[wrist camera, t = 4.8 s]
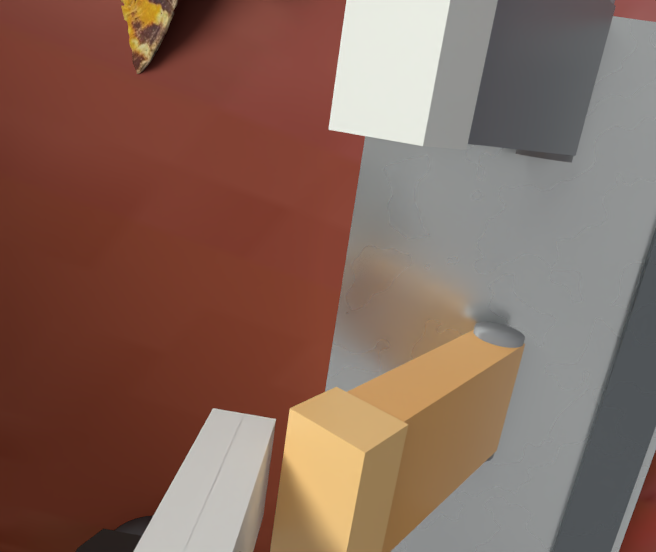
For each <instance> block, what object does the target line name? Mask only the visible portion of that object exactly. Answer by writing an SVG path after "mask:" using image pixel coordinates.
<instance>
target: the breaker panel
mask: <svg viewBox="0 0 656 552" xmlns="http://www.w3.org/2000/svg"><path fill="white" fill-rule="evenodd" d="M515 153H516V149H509V148H500V147H491V146H482V145H473V144H467V149H466V150H461V149H449V148H438V147H427V146H419V145H414V144H408V143H402V142H397V141H391V140H385V139H380V138H374V137H368V136H365V142H364V149H363V155H362V161H361V168H360V174H359V180H358V187H357V193H356V199H355V206H354V212H353V218H352V225H351V231H350V237H349V244H348V250H347V256H346V263H345V269H344V275H343V282H342V288H341V294H340V301H339V307H338V313H337V320H336V326H335V332H334V339H333V345H332V351H331V357H330V364H329V370H328V376H327V383H326V389H325V392H326V391H328V390H330V389H333V388H335V387H338V388H340V389H342V390H344V391H346V392H347V391H349V390H352V389H354V388H356V387H358V386H360V385H362V384H364V383H366V382H368V381H370V380H372V379H374V378H376V377H378V376H380V375H382V374H384V373H386V372H388V371H390V370H392V369H394V368H397V367H399V366H401V365H403V364H405V363H407V362H409V361H411V360H413V359H415V358H417V357H419V356H421V355H423V354H425V353H427V352H429V351H431V350H433V349H435V348H437V347H440V346H442V345H444V344H446V343H448V342H450V341H452V340H454V339H456V338H458V337H460V336H462V335H464V334H466V333H468V332H470V331H472V330H474V327H475V324H477V323H480V322H492V323H498V324H502V325H506V326H509V327H512V328H514V329H516V330H518V331H520V332H521V333H522V334H523V335H524V336H525V340H524V344H525V347H524V351H523V354H522V358H521V362H520V366H519V369H518V373H517V377H516V381H515V384H514V388H513V392H512V396H511V399H510V403H509V407H508V411H507V414H506V418H505V422H504V426H503V429H502V433H501V437H500V441H499V444H498V448H497V451H496V452H495V453H494V457H493V458H492V459H491V460H489V461H487V462H484V463H483V464H482V465H481V466H480V467H479V468H478V469H477V470H476V471H475V472H474V473H473V474H472V475H470V476H469V477H468V478H467V479H466V480H465V481H464V482H463V483H462V484H461V485H460V486H459V487H458V488H457V489H456V490H455V491H454V492H453V493H451V494H450V495H449V496H448V497H447V498H446V499H445V500H444V501H443V502H442V503H441V504H440V505H439V506H438V507H437V508H436V509H435V510H434V511H433V512H431V513H430V514H429V515H428V516H427V517H426V518H425V519H424V520H423V521H422V522H421V523H420V524H419V525H418V526H417V527H416V528H415V529H414V530H413V531H411V532H410V533H409V534H408V535H407V536H406V537H405V538H404V539H403V540H402V541H401V542H400V543H399V544H398V545H397V546H396V547H395V548H394V549H392V550H391V551H390V552H619V549H620V547H621V544H622V541H623V538H624V536H625V533H626V530H627V527H628V525H629V522H630V519H631V516H632V514H633V511H634V508H635V505H636V502H637V500H638V497H639V494H640V491H641V489H642V486H643V483H644V480H645V478H646V475H647V472H648V469H649V467H650V464H651V461H652V458H653V456H654V453H655V450H656V22H650V21H643V20H636V19H629V18H622V17H615V16H613V18H612V21H611V25H610V29H609V33H608V36H607V40H606V44H605V48H604V51H603V55H602V59H601V63H600V66H599V70H598V74H597V78H596V81H595V85H594V89H593V93H592V96H591V100H590V104H589V107H588V111H587V115H586V119H585V122H584V126H583V130H582V134H581V137H580V141H579V145H578V149H577V152H576V156H573V160H572V162H563V161H556V160H549V159H543V158H536V157H530V156H525V155H519V154H515Z"/></svg>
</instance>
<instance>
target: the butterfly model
mask: <svg viewBox="0 0 656 552" xmlns="http://www.w3.org/2000/svg"><path fill="white" fill-rule="evenodd" d="M122 1H123V3H124V5H125V6H121V7H122V11H123V15H124V19H125V20H126V21H127V22H128V26H129V27H128V32H129V36H130V39H129V43H130V46H131V48H132V57H133V64H134V67H135V69H136V72H137V74H139V73H141V72H143V71H144V70H145V68H146V67H147V66H148V65H149V63H150V62H151V61H152V59H153V57H154V56H155V54H156V52H157V50H158V48H159V46H160V44H161V42H162V40H163V38H164V36H165V34H166V32H167V30H168V27H169V24H170V21H171V19H172V18H173V16H174V11H173V10H174V9H175V8H176V6H177V3H178V0H168V1H167V0H136V2H135V0H121V2H122ZM130 4H131V6H130ZM161 13H162V14H161ZM144 22H145V23H144Z"/></svg>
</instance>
